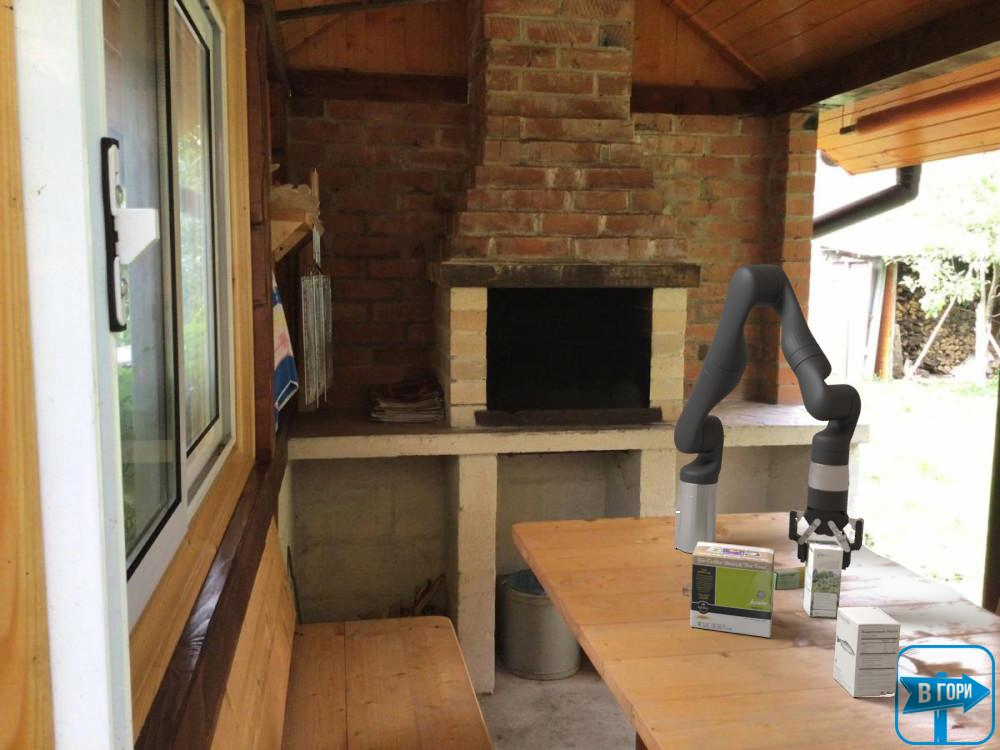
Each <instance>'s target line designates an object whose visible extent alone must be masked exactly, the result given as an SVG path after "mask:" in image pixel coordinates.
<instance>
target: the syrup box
mask: <svg viewBox="0 0 1000 750" xmlns="http://www.w3.org/2000/svg"><path fill="white" fill-rule="evenodd" d="M806 543H807V547H806V561H805V562H804V565H805V566H804V567H805V576H804V587H803V594H802V607H803V609H804V610H805V612H806V614H807V615H808V617H810V618H823V619H824V618H825V619H837V614H838V608H840V597H841V584H842V583H841V582H842V571H843V570H842V559H843V550H844V549H843V547H842V546H841V545H839V544H840V543H838V541H836V540H826V539H825V540H823V539H821V540H820V539H819V540H818V539H807V540H806Z"/></svg>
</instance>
